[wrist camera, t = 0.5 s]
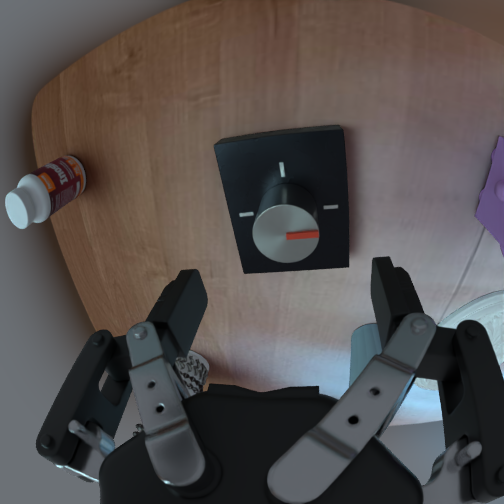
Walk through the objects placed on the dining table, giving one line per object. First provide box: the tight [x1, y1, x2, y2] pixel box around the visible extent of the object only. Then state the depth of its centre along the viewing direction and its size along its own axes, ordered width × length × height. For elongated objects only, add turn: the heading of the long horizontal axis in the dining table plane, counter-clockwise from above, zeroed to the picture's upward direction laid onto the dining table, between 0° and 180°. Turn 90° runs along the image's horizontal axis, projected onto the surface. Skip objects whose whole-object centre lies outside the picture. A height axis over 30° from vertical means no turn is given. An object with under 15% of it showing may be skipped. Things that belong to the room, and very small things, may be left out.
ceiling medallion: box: [414, 290, 504, 390], centre depth 38 cm, size 28×28×3 cm
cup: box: [349, 324, 382, 387], centre depth 36 cm, size 8×8×10 cm
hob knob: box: [253, 184, 319, 263], centre depth 26 cm, size 6×6×5 cm
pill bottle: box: [5, 156, 86, 229], centre depth 28 cm, size 6×6×11 cm
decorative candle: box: [133, 350, 209, 436], centre depth 41 cm, size 9×9×25 cm
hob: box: [214, 125, 349, 274], centre depth 29 cm, size 15×12×3 cm
